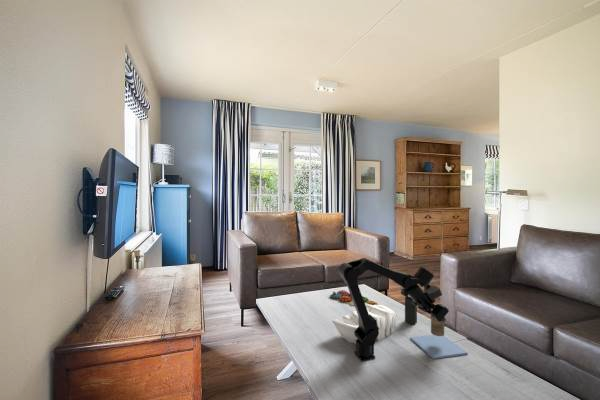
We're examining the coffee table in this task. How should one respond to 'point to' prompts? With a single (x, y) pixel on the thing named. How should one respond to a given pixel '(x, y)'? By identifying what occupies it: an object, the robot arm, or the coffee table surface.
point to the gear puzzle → (348, 298)
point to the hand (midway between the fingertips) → (440, 318)
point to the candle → (410, 311)
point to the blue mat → (438, 346)
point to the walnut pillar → (437, 327)
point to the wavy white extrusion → (378, 312)
